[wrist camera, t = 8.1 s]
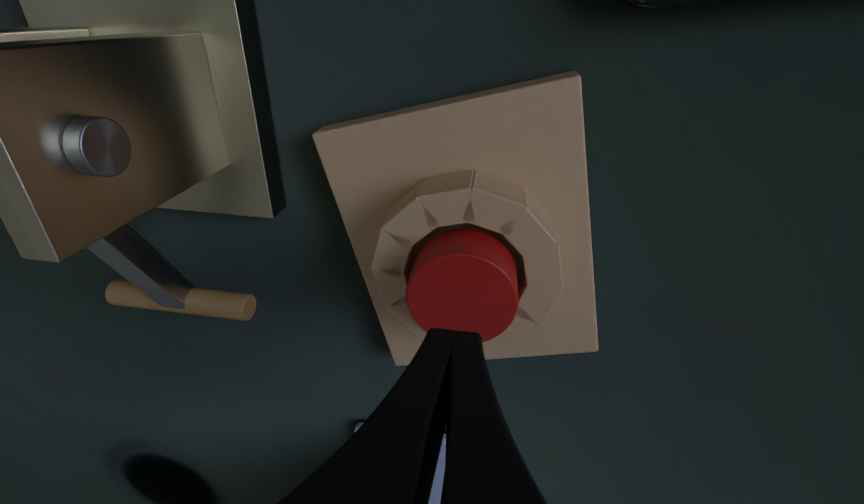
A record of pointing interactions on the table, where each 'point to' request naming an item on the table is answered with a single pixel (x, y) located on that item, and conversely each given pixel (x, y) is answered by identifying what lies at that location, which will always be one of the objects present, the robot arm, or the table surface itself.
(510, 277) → the button
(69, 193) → the bracket
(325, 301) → the table surface
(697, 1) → the phone
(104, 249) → the lever
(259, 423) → the table surface
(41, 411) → the table surface
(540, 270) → the control block
